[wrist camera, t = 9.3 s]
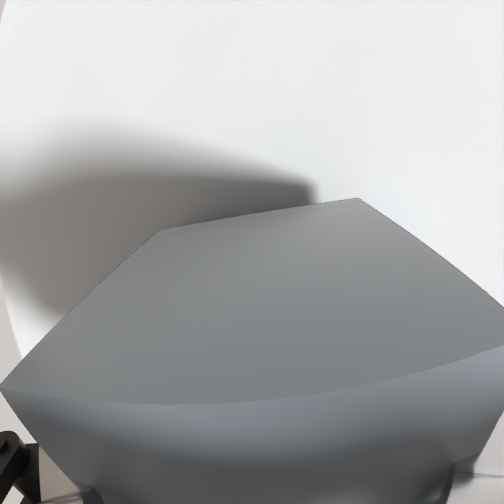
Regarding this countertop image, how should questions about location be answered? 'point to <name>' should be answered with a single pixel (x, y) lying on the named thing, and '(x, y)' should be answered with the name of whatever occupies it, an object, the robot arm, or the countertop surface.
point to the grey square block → (270, 366)
